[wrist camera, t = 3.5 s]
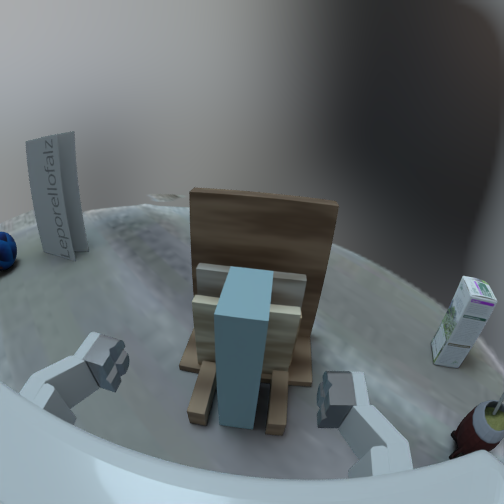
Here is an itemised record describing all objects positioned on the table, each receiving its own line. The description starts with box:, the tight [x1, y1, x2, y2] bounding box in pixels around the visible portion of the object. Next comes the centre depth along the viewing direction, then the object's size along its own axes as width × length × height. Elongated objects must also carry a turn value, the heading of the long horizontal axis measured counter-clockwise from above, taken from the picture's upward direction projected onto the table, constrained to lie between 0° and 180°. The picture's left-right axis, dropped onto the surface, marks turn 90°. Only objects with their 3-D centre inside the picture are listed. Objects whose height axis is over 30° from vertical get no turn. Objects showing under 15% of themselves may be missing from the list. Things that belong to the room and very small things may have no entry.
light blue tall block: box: [214, 266, 273, 429], centre depth 27 cm, size 7×4×18 cm, turn 173°
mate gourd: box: [449, 393, 504, 460], centre depth 19 cm, size 8×8×15 cm
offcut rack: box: [179, 188, 339, 436], centre depth 31 cm, size 19×18×22 cm
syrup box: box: [431, 276, 497, 368], centre depth 35 cm, size 6×6×14 cm
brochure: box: [26, 131, 89, 261], centre depth 55 cm, size 14×6×30 cm, turn 77°
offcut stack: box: [192, 263, 307, 375], centre depth 35 cm, size 5×13×13 cm, turn 83°
